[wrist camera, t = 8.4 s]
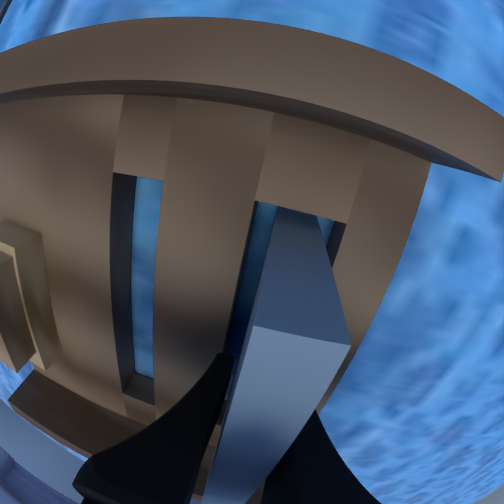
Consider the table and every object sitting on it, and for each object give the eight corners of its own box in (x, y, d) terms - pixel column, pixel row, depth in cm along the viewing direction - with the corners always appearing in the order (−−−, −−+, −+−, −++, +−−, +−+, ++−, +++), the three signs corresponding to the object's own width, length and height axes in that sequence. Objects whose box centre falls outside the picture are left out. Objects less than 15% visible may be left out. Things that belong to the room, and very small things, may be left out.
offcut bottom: (62, 351, 14) (45, 370, 13) (27, 331, 15) (10, 347, 13) (41, 233, 11) (14, 247, 9) (5, 220, 11) (-20, 232, 10)
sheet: (254, 401, 16) (233, 516, 9) (229, 395, 16) (199, 509, 9) (315, 215, 12) (350, 345, 4) (277, 205, 12) (253, 325, 4)
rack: (281, 446, 18) (274, 514, 13) (51, 366, 19) (14, 411, 13) (417, 124, 9) (512, 123, 4) (28, 77, 10) (-52, 78, 5)
